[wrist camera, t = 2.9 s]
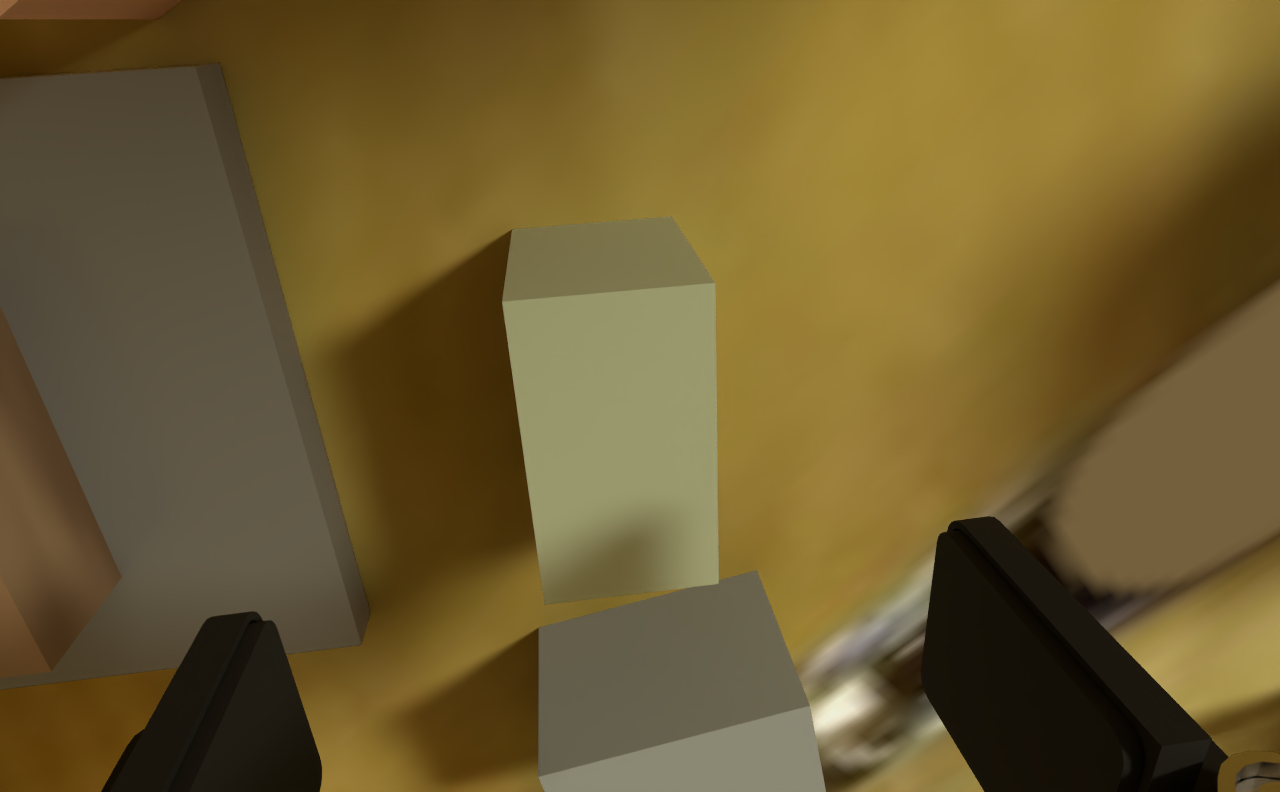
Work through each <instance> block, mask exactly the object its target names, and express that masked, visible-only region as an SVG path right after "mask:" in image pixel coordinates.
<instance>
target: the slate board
mask: <svg viewBox="0 0 1280 792" xmlns="http://www.w3.org/2000/svg"><path fill="white" fill-rule="evenodd" d="M0 306H1V308H2V311H3V313H4V315H5V317H6V319H7V322H8V324H9V326H10V328H11V331H12V333H13V335H14V337H15V340H16V342H17V344H18V346H19V349H20V351H21V353H22V355H23V358H24V360H25V362H26V364H27V366H28V369H29V371H30V373H31V375H32V378H33V380H34V382H35V384H36V387H37V389H38V391H39V393H40V396H41V398H42V400H43V402H44V405H45V407H46V409H47V411H48V413H49V416H50V418H51V420H52V422H53V425H54V427H55V429H56V431H57V434H58V436H59V438H60V440H61V443H62V445H63V447H64V449H65V451H66V454H67V456H68V458H69V460H70V463H71V465H72V467H73V469H74V472H75V474H76V476H77V478H78V481H79V483H80V485H81V487H82V490H83V492H84V494H85V496H86V498H87V501H88V503H89V505H90V507H91V510H92V512H93V514H94V516H95V519H96V521H97V523H98V525H99V528H100V530H101V532H102V534H103V537H104V539H105V541H106V543H107V545H108V548H109V550H110V552H111V554H112V557H113V559H114V561H115V563H116V566H117V568H118V570H119V572H120V575H121V577H122V578H121V579H120V580H119V582H118V583H117V584H116V586H115V587H114V588H113V590H112V591H111V592H110V594H109V595H108V596H107V598H106V599H105V601H104V602H103V603H102V605H101V606H100V607H99V609H98V610H97V611H96V613H95V614H94V615H93V617H92V618H91V619H90V621H89V622H88V623H87V625H86V626H85V627H84V629H83V630H82V631H81V633H80V634H79V635H78V637H77V638H76V639H75V641H74V642H73V643H72V645H71V646H70V647H69V649H68V650H67V652H66V653H65V654H64V656H63V657H62V658H61V660H60V661H59V662H58V664H57V665H56V666H55V668H54V669H53V670H52V672H45V673H37V674H29V675H20V676H12V677H4V678H0V690H2V689H10V688H18V687H26V686H34V685H42V684H50V683H58V682H67V681H75V680H83V679H91V678H99V677H107V676H115V675H123V674H131V673H139V672H148V671H156V670H164V669H172V668H179V666H180V664H181V663H182V661H183V659H184V657H185V655H186V654H187V652H188V650H189V648H190V646H191V645H192V643H193V641H194V639H195V637H196V636H197V634H198V632H199V630H200V628H201V627H202V625H203V623H204V622H205V621H206V620H207V619H208V618H210V617H212V616H220V615H228V614H235V613H243V612H251V611H254V612H257V613H258V614H259V615H260V616H261V618H262V620H263V621H267V620H271V621H273V622H274V623H275V625H276V627H277V629H278V632H279V635H280V638H281V641H282V644H283V647H284V650H285V653H286V654H293V653H301V652H310V651H318V650H326V649H334V648H342V647H350V646H358V645H362V641H363V638H364V634H365V631H366V627H367V624H368V620H369V617H370V610H369V607H368V603H367V599H366V596H365V592H364V588H363V585H362V581H361V577H360V574H359V570H358V566H357V563H356V559H355V556H354V552H353V548H352V545H351V541H350V537H349V534H348V530H347V526H346V523H345V519H344V515H343V512H342V508H341V504H340V501H339V497H338V493H337V490H336V486H335V482H334V479H333V475H332V471H331V468H330V464H329V460H328V457H327V453H326V450H325V446H324V442H323V439H322V435H321V431H320V428H319V424H318V420H317V417H316V413H315V409H314V406H313V402H312V398H311V395H310V391H309V387H308V384H307V380H306V376H305V373H304V369H303V365H302V362H301V358H300V355H299V351H298V347H297V344H296V340H295V336H294V333H293V329H292V325H291V322H290V318H289V314H288V311H287V307H286V303H285V300H284V296H283V292H282V289H281V285H280V281H279V278H278V274H277V270H276V267H275V263H274V260H273V256H272V252H271V249H270V245H269V241H268V238H267V234H266V230H265V227H264V223H263V219H262V216H261V212H260V208H259V205H258V201H257V197H256V194H255V190H254V186H253V183H252V179H251V175H250V172H249V168H248V165H247V161H246V157H245V154H244V150H243V146H242V143H241V139H240V135H239V132H238V128H237V124H236V121H235V117H234V113H233V110H232V106H231V102H230V99H229V95H228V91H227V88H226V84H225V80H224V77H223V73H222V70H221V66H220V63H209V64H194V65H178V66H163V67H147V68H132V69H117V70H101V71H86V72H71V73H55V74H40V75H25V76H9V77H0Z"/></svg>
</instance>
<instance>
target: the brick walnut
mask: <svg viewBox="0 0 1280 792" xmlns="http://www.w3.org/2000/svg"><path fill="white" fill-rule="evenodd" d="M121 578H122V577H121V575H120V572H119V570H118V568H117V566H116V563H115V561H114V559H113V557H112V554H111V552H110V550H109V548H108V545H107V543H106V541H105V539H104V537H103V534H102V532H101V530H100V528H99V525H98V523H97V521H96V519H95V516H94V514H93V512H92V510H91V507H90V505H89V503H88V501H87V498H86V496H85V494H84V492H83V490H82V487H81V485H80V483H79V481H78V478H77V476H76V474H75V472H74V469H73V467H72V465H71V463H70V460H69V458H68V456H67V454H66V451H65V449H64V447H63V445H62V443H61V440H60V438H59V436H58V434H57V431H56V429H55V427H54V425H53V422H52V420H51V418H50V416H49V413H48V411H47V409H46V407H45V405H44V402H43V400H42V398H41V396H40V393H39V391H38V389H37V387H36V384H35V382H34V380H33V378H32V375H31V373H30V371H29V369H28V366H27V364H26V362H25V360H24V358H23V355H22V353H21V351H20V349H19V346H18V344H17V342H16V340H15V337H14V335H13V333H12V331H11V328H10V326H9V324H8V322H7V319H6V317H5V315H4V313H3V311H2V308H1V306H0V678H4V677H12V676H20V675H29V674H37V673H45V672H52V670H53V669H54V668H55V666H56V665H57V664H58V662H59V661H60V660H61V658H62V657H63V656H64V654H65V653H66V652H67V650H68V649H69V647H70V646H71V645H72V643H73V642H74V641H75V639H76V638H77V637H78V635H79V634H80V633H81V631H82V630H83V629H84V627H85V626H86V625H87V623H88V622H89V621H90V619H91V618H92V617H93V615H94V614H95V613H96V611H97V610H98V609H99V607H100V606H101V605H102V603H103V602H104V601H105V599H106V598H107V596H108V595H109V594H110V592H111V591H112V590H113V588H114V587H115V586H116V584H117V583H118V582H119V580H120V579H121Z"/></svg>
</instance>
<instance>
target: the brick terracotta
mask: <svg viewBox="0 0 1280 792" xmlns="http://www.w3.org/2000/svg"><path fill="white" fill-rule="evenodd" d="M180 1H181V0H0V19H159V18H160V17H162V16H163V15H164V14H165V13H166V12H168V11H169V10H170V9H171V8H172V7H174V6H175V5H176V4H177V3H179V2H180Z"/></svg>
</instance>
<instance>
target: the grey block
mask: <svg viewBox="0 0 1280 792" xmlns="http://www.w3.org/2000/svg"><path fill="white" fill-rule="evenodd" d="M538 777H539V780H540V782H541V784H542V786H543V789H544V791H545V792H826V790H825V784H824V779H823V774H822V768H821V763H820V758H819V752H818V747H817V742H816V737H815V731H814V726H813V721H812V715H811V710H810V705H809V703H808V700H807V698H806V695H805V692H804V690H803V687H802V685H801V682H800V680H799V677H798V674H797V672H796V669H795V667H794V664H793V662H792V659H791V656H790V654H789V651H788V649H787V646H786V644H785V641H784V639H783V636H782V633H781V631H780V628H779V626H778V623H777V621H776V618H775V615H774V613H773V610H772V608H771V605H770V603H769V600H768V597H767V595H766V592H765V590H764V587H763V585H762V582H761V580H760V577H759V574H758V572H757V571H753V572H749V573H745V574H741V575H738V576H734V577H730V578H726V579H722V580H719V584H714V585H705V586H697V587H692V588H688V589H684V590H680V591H677V592H673V593H669V594H665V595H661V596H658V597H654V598H650V599H646V600H642V601H639V602H635V603H631V604H627V605H623V606H620V607H616V608H612V609H608V610H604V611H601V612H597V613H593V614H589V615H585V616H582V617H578V618H574V619H570V620H566V621H563V622H559V623H555V624H551V625H547V626H544V627H540V628H539V730H538Z"/></svg>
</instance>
